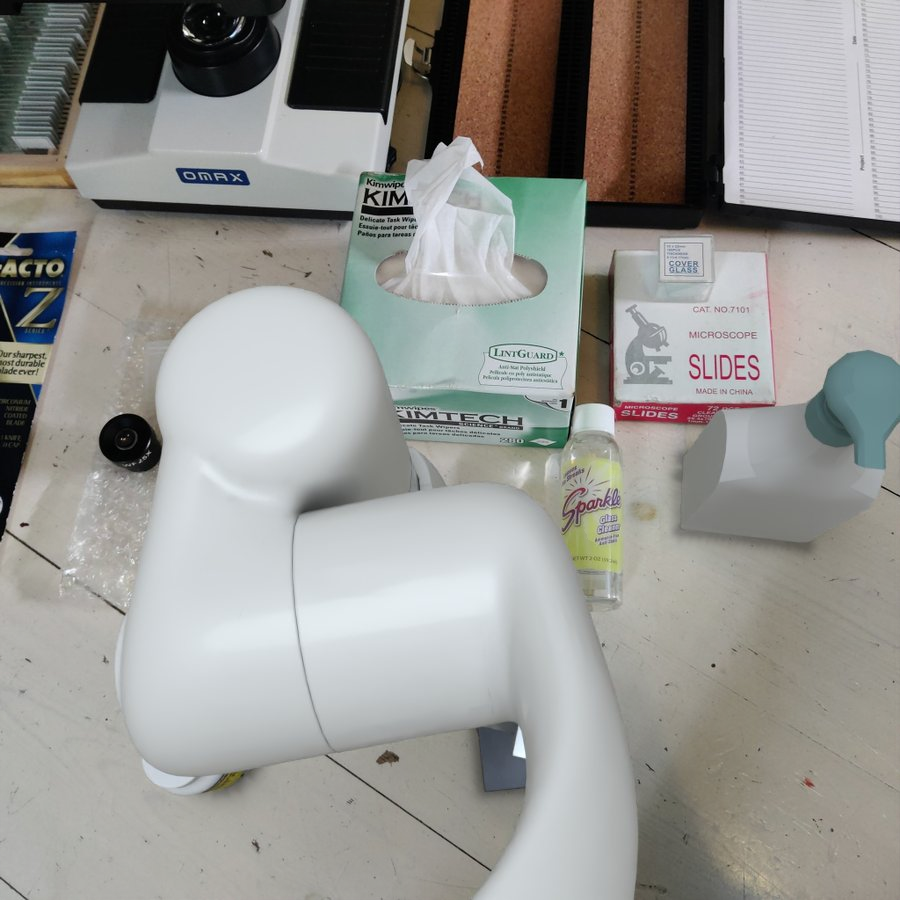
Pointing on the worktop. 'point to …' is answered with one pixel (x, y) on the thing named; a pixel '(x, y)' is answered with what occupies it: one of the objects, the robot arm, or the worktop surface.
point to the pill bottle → (191, 781)
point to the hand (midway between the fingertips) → (386, 567)
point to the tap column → (500, 761)
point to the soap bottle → (795, 457)
